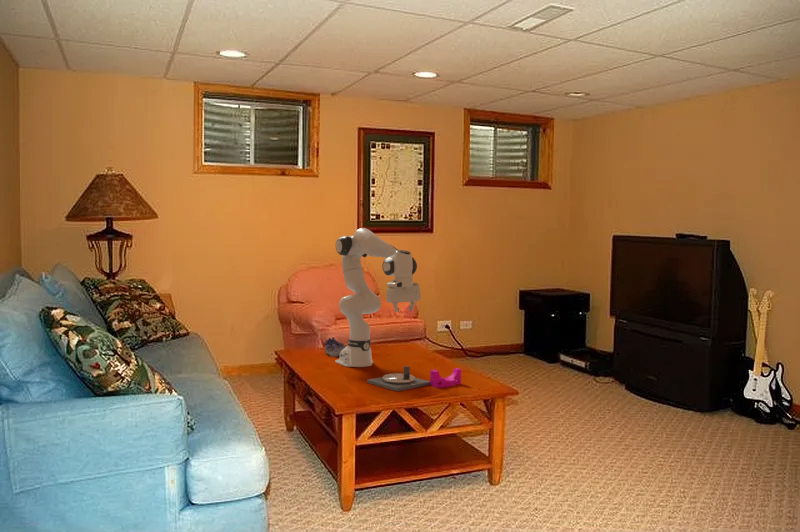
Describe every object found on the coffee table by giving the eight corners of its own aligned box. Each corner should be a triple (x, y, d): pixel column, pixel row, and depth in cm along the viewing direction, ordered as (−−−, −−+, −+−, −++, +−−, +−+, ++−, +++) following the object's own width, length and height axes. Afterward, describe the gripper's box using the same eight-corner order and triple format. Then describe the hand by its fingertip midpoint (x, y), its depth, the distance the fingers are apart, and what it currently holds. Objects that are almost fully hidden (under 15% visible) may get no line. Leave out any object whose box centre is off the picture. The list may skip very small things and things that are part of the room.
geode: (318, 353, 397) (318, 336, 397) (336, 351, 402) (336, 335, 402) (330, 359, 379) (330, 342, 379) (348, 358, 384) (349, 341, 384)
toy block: (435, 388, 316) (436, 372, 315) (430, 385, 321) (430, 370, 321) (463, 385, 322) (463, 370, 321) (457, 382, 327) (457, 368, 327)
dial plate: (367, 382, 323) (367, 379, 323) (400, 376, 338) (400, 373, 338) (396, 391, 307) (397, 387, 307) (430, 384, 321) (430, 381, 321)
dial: (375, 379, 323) (376, 364, 322) (400, 374, 333) (400, 360, 333) (397, 385, 311) (398, 369, 310) (422, 380, 321) (422, 365, 321)
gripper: (414, 282, 334) (414, 309, 334) (384, 283, 320) (384, 311, 321) (423, 282, 329) (423, 310, 330) (392, 284, 315) (393, 312, 316)
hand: (403, 311), depth 325 cm, fingers open, 8 cm apart
